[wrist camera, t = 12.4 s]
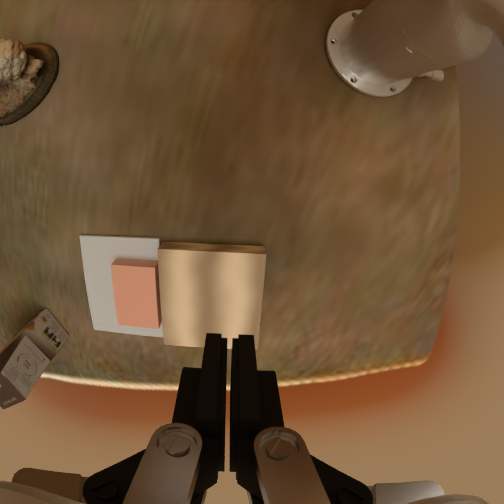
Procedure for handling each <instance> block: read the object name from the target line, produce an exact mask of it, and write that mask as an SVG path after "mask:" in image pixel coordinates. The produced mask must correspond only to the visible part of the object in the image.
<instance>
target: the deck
mask: <svg viewBox="0 0 504 504" xmlns="http://www.w3.org/2000/svg"><path fill="white" fill-rule="evenodd" d="M265 264H266V251H265V247H264V246H251V245H230V244H209V243H187V242H165V241H163V242H162V244H161V245H160V246H159V248H158V270H159V288H160V303H161V316H162V328H163V338H164V344H165V345H177V346H190V347H204V346H205V339H206V333H219V334H222V338H228V339H227V349H232V338H238V335H239V334H243V335H254V341H255V350H258V340H259V330H260V319H261V308H262V297H263V286H264V275H265Z"/></svg>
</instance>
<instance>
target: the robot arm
mask: <svg viewBox="0 0 504 504" xmlns="http://www.w3.org/2000/svg"><path fill="white" fill-rule="evenodd" d="M352 16H353V17H352ZM493 33H494V34H495V35H496V36H497V38H498V39H499V40H500V41H501V43H502V44H503V46H504V0H373V1H372V2H371V3H370V4H369V5H368V6H367V7H366V8H365V9H364V10H352V11H348V12H346V13H344V14H342V15H340V16H339V17H338V18H336V20H335V21H334V22H333V23H332V24H331V26H330V28H329V29H328V32H327V35H326V53H327V56H328V59H329V62H330V64H331V65H332V67H333V69H334V71H335V72H336V73H337V75H338V76H339V77H340V78H341V79H342V80H343V81H344V82H345V83H346V84H347V85H349V86H350V87H351V88H353V89H354V90H356V91H358V92H360V93H362V94H365V95H368V96H373V97H388V96H392V95H395V94H398V93H400V92H401V91H403V90H404V89H405V88H406V87H407V86H408V85H409V84H410V83H411V81H412V79H413V77H416V76H417V77H420V78H421V77H423V76H425V77H427V78H429V79H431V80H434V81H437V82H441V81H442V80H443V78H444V72H443V71H442V70H441V69H443V68H447V67H450V66H455V65H458V64H462V63H466V62H470V61H472V60H475V59H476V58H478V57H479V56H481V55H482V54H483V52H484V51H485V50H486V49H487V47H488V45H489V43H490V41H491V39H492V35H493ZM331 42H333V44H332V43H331ZM350 79H352V80H353V82H351V80H350ZM390 88H391V90H390ZM227 339H228V338H222V334H219V333H206V339H205V346H204V353H203V361H202V368H189V367H183V370H182V374H181V379H180V384H179V388H178V394H177V399H176V404H175V409H174V414H173V419H172V423H171V424H166V425H164V426H161V427H160V428H158V429H157V430H156V431H155V432H154V434H153V435H152V437H151V439H150V442H149V444H148V446H147V448H146V449H145V450H143V451H141V452H139V453H137V454H135V455H133V456H131V457H129V458H127V459H125V460H123V461H121V462H119V463H117V464H114V465H112V466H110V467H108V468H106V469H104V470H102V471H100V472H97V473H95V474H93V475H92V476H90V477H82V476H81V475H80V474H73V473H63V472H54V471H47V470H40V469H34V468H23V469H20V470H18V471H17V472H16V473H15V474H14V476H13V479H12V482H6V481H0V504H204V501H205V497H206V493H207V489H208V488H210V487H211V486H213V485H214V484H216V483H217V479H218V471H224V462H225V412H226V373H227ZM230 472H236V480H237V483H238V484H239V485H240V486H242V487H243V488H244V489H246V490H247V495H248V499H249V503H250V504H488V503H487V502H486V501H485V500H483V499H482V498H479V497H476V496H471V495H458V494H456V495H455V494H454V495H445V494H444V491H443V488H442V487H441V486H440V485H439V484H438V483H435V482H433V481H418V482H405V483H404V482H403V483H379V484H375V485H374V486H366V485H364V484H363V483H362V482H360V481H358V480H356V479H353V478H352V477H350V476H348V475H346V474H344V473H342V472H340V471H338V470H337V469H335V468H333V467H331V466H329V465H328V464H326V463H324V462H322V461H320V460H319V459H317V458H315V457H314V456H312V455H310V454H309V451H308V449H307V447H306V444H305V442H304V440H303V439H302V437H301V436H300V435H299V434H298V433H297V432H296V431H293V430H291V429H289V428H285V427H284V422H283V416H282V409H281V403H280V397H279V391H278V384H277V378H276V373H275V371H257V364H256V353H255V341H254V335H243V334H239V335H238V338H232V360H231V387H230Z"/></svg>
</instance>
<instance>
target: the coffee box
mask: <svg viewBox="0 0 504 504" xmlns="http://www.w3.org/2000/svg"><path fill="white" fill-rule="evenodd" d="M68 337H69V335H68V333H67V332H66V331H65V330H64V329H63V327H62V326H61V325H60V324H59V323H58V321H57V320H56V319H55V318H54V316H53V315H52V314H51V313H50V311H49V310H48V309H47V308H45V309H44V310H43V311H42V312H40V313H39V314H38V315H37V316H35V317H34V318H33V319H32V320H30V321H29V322H28V323H27V324H26V325H24V326H23V327H22V328H21V329H20V330H19V331H18V332H17V333H16V335H15V336H14V337H13V338H12V339H11V340H10V341H9V342H8V343H7V345H6V346H5V347H4V348H3V349H2V350H1V351H0V406H1V407H2V408H3V409H6V408H8V407H10V406H12V405H15V404H17V403H19V402H22V401H24V400H25V399H26V397H27V395H28V394H29V392H30V391H31V389H32V388H33V386H34V385H35V383H36V382H37V380H38V379H39V378H40V376H41V375H42V373H43V372H44V370H45V369H46V367H47V366H48V365H49V363H50V362H51V360H52V359H53V357H54V356H55V355H56V353H57V352H58V350H59V349H60V348H61V346H62V345H63V344H64V342H65V341H66V340H67V338H68Z"/></svg>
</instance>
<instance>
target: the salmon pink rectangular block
mask: <svg viewBox="0 0 504 504" xmlns="http://www.w3.org/2000/svg"><path fill="white" fill-rule="evenodd" d="M111 274H112V283H113V291H114V299H115V307H116V314H117V320H118V325H125V326H134V327H143V328H153V329H159V328H160V325H161V322H162V316H161V303H160V288H159V270H158V261H157V260H141V259H125V258H116V259H115V260H114V262H113V263H112V264H111Z"/></svg>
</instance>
